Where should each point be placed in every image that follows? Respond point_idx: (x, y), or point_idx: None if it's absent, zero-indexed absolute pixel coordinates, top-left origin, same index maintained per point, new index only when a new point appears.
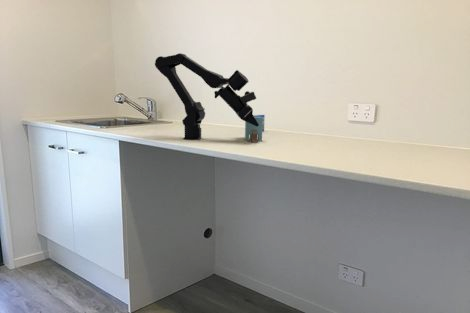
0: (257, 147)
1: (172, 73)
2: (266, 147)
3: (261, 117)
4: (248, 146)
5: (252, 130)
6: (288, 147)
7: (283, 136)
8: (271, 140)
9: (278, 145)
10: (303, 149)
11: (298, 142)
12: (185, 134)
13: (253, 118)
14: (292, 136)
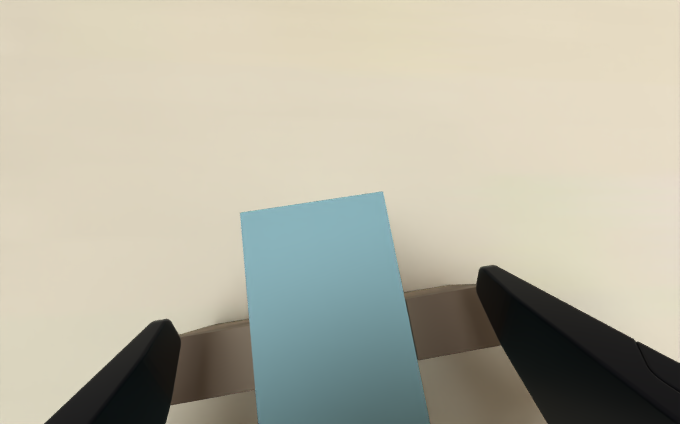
0: (672, 274)
1: None
2: (646, 210)
3: (341, 211)
4: (656, 347)
5: (487, 347)
6: (591, 78)
7: (78, 87)
8: (308, 176)
9: (533, 133)
10: (629, 8)
11: (371, 12)
12: None
13: (661, 376)
14: (80, 28)
